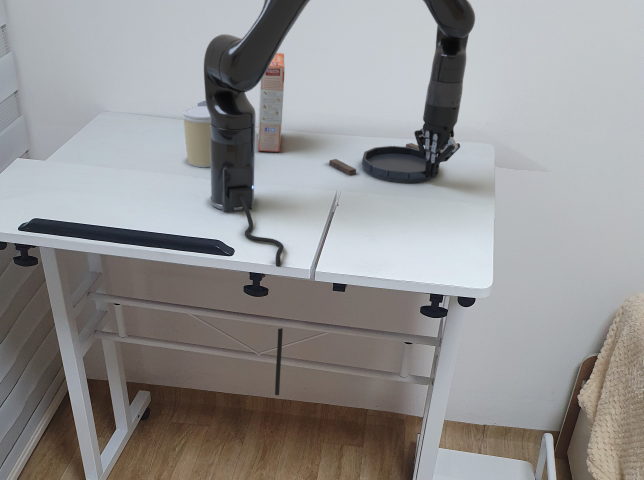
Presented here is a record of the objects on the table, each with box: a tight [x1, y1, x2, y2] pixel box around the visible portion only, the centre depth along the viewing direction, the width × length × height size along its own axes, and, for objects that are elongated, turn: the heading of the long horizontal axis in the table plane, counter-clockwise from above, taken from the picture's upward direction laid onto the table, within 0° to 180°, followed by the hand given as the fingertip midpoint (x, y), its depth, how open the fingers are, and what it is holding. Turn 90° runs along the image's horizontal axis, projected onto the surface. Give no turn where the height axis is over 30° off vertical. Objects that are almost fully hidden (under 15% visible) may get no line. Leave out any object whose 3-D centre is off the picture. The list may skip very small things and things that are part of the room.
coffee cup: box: [182, 105, 211, 168], centre depth 173 cm, size 9×9×12 cm
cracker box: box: [257, 52, 286, 153], centre depth 182 cm, size 14×6×21 cm, turn 179°
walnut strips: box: [328, 142, 419, 176], centre depth 180 cm, size 8×27×1 cm, turn 123°
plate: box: [361, 145, 433, 184], centre depth 175 cm, size 18×18×3 cm
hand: (430, 177), depth 168 cm, fingers closed
